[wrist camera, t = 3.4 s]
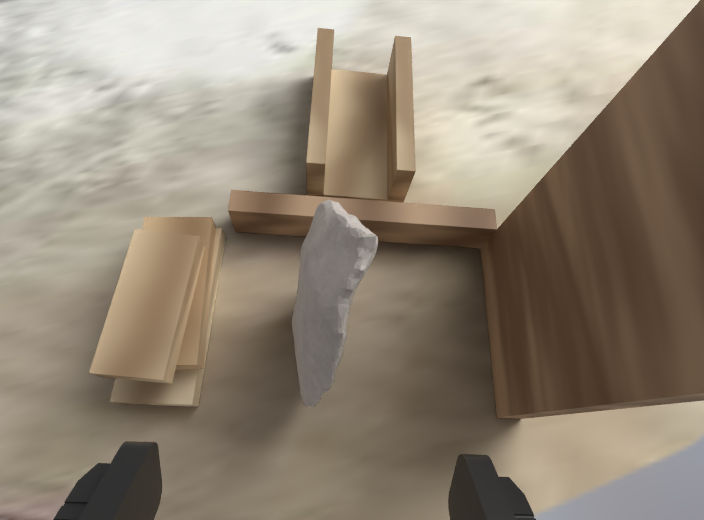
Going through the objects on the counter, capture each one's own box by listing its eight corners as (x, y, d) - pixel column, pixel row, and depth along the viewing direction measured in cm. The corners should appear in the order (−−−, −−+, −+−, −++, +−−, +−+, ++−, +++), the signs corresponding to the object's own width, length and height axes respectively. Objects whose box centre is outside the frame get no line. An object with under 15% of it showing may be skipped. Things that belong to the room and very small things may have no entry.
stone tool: (290, 271, 29) (272, 116, 15) (337, 268, 29) (362, 114, 15) (297, 415, 25) (283, 385, 12) (351, 409, 26) (399, 374, 12)
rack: (209, 407, 25) (-69, 316, 7) (238, 212, 30) (127, -141, 12) (521, 418, 26) (1005, 370, 8) (499, 231, 31) (764, -61, 13)
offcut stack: (120, 403, 25) (82, 396, 21) (159, 233, 29) (134, 199, 25) (204, 406, 25) (182, 400, 21) (230, 238, 29) (217, 204, 25)
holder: (306, 199, 31) (306, 162, 27) (317, 75, 36) (317, 27, 32) (401, 206, 32) (415, 171, 27) (399, 83, 36) (410, 37, 32)
